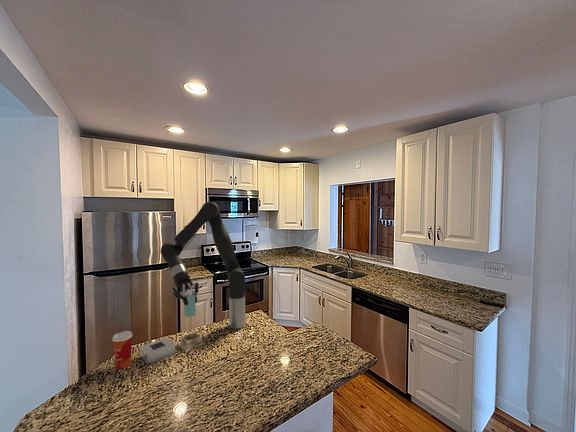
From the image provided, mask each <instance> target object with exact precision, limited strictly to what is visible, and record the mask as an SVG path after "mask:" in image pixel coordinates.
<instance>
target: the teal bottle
mask: <svg viewBox="0 0 576 432" xmlns="http://www.w3.org/2000/svg"><path fill="white" fill-rule="evenodd" d="M185 297H186V298H187V301H188V305H184V304H183V311H184V313H183V315H184V316H185V317H186V318H191V317H194V316H196V314H197V312H196V311H197V309H196V303H195V295H193V294H192V289H187V292H186V294H185Z"/></svg>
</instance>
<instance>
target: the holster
mask: <svg viewBox="0 0 576 432" xmlns="http://www.w3.org/2000/svg"><path fill="white" fill-rule="evenodd" d="M179 338H180V342H179V343H177V346H178V347H180V348H181V349H182V350H183V351H185V352H188V351H191V350H194V349H196V348H198V347H201V346H203V345H205V344H206V343H205V342H204V341H203V337H202V336H201V334H199V333H197V332H196V331H194V332H190V333H187V334H185V335H183V336H180V337H179Z"/></svg>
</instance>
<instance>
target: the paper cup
mask: <svg viewBox="0 0 576 432" xmlns="http://www.w3.org/2000/svg"><path fill="white" fill-rule="evenodd" d="M133 335H134V334H133V332H132V331H130V330H123V331H120V332H117V333H115V334H114V335H113V336H112V339H111V341H112V345H113V353H114V364H115V366H114V367H115V369H116V370H118V369H121V370H124V369H123V368H125V369H127V368H128V367H130V366H131V364H132V363H131V362H132V349H133V348H132V346H133Z"/></svg>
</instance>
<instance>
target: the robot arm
mask: <svg viewBox="0 0 576 432" xmlns="http://www.w3.org/2000/svg"><path fill="white" fill-rule="evenodd" d="M220 211H221V210H220V207H219V205H218V204H217V203H216V202H214V201H206V202H205V203H204V204H202V206H201V208H200V209H199V211H198V212H197V213H196V214H195V216H194V217H193V218H192V219H191V221H190V222H188V224H186V225H185V227H183V228H182V229H181V230H180V231H179V232H178V233H177V234H176V235H175V236H174V241H175V244H172V243H169V242H167V243H164V244H163V245H162V246H161V247H160V253H161V257H162V258H163V259H164V261H165V262H166V263H167V264H168V268H169V270H170V274H171V278H172V279H173V282H174V284H175V286H174V287H172V289H171V291H170V292H171V293H172V294H173V296H174V297H175V298H176V299H177V300H182V303H183V306H184V305H188V301H187V298H186V297H185V295H186V293H187V289H192V294H193V295H195V304H196V303H198V300H199V298H198V297H197V295H198V293H199V282H198V281H197V282H193V281H192V280H191V278H190V274H189V272H188V269H187V267H186V265H185V264H184V262H183V260H182V258H181V257H180V255H181V253H182V252H183V250H184V248H186V245H187V244H188V243H189V242H190V241H191V240H192V239H193V237H194V236H195V235H196V234H197V233H198V232H199V230H200V229H201V228H202V227H203V226H204V225H205V224H206V223H207V222H208V224H209V226H210V229H211V234H212V239H213V242H214V245H215V248H216V250H217V253H218V254H219V256H220V259H222V261H223V263H224V266H225V269H226V273H227V277H228V278H227V279H228V284H229V285H228V308H229V309H228V311H229V313H228V315H229V316H228V318H229V319H228V320H229V321H228V322H229V324H228V325H229V328H231V329H234V330H235V329H236V330H237V329H238V330H239V329H242V328H245V326H246V276H245V273H244V272H243V271H244V270H243V269H242V268H241V266H240V264H239V262H238V260H237V257H236V252H235V248H234V244H233V242H232V240H231V237H230V235H229V232H228V230H227V228H226V226H225V223H224V222H223V219H222V215H221V212H220Z"/></svg>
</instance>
